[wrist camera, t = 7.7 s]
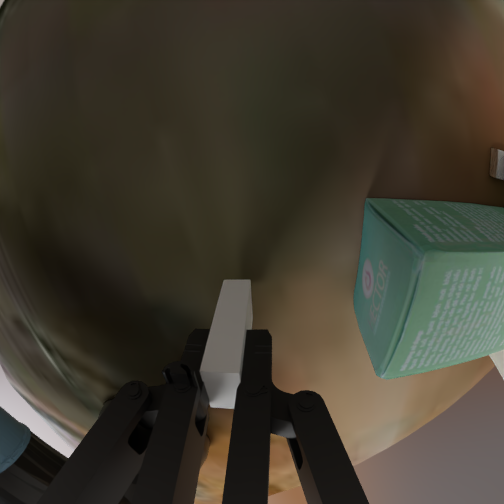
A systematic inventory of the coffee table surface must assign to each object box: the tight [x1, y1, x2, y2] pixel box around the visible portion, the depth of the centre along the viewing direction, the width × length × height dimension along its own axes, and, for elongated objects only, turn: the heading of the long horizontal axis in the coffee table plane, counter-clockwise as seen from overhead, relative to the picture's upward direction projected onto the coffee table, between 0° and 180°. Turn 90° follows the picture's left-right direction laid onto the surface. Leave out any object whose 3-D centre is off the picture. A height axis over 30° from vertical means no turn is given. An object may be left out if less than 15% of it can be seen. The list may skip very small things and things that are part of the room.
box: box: [354, 198, 504, 379], centre depth 12 cm, size 7×14×8 cm, turn 93°
